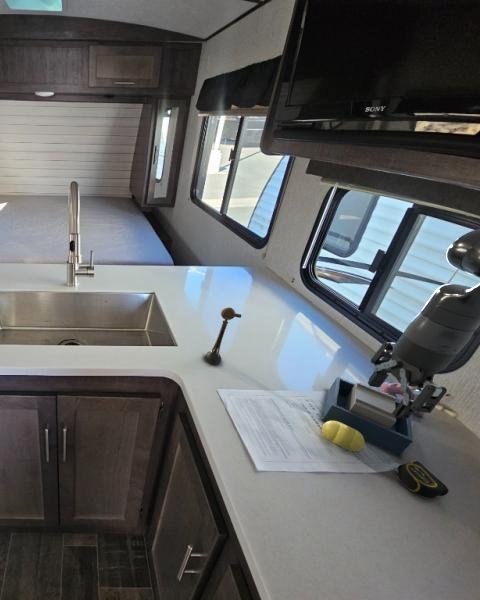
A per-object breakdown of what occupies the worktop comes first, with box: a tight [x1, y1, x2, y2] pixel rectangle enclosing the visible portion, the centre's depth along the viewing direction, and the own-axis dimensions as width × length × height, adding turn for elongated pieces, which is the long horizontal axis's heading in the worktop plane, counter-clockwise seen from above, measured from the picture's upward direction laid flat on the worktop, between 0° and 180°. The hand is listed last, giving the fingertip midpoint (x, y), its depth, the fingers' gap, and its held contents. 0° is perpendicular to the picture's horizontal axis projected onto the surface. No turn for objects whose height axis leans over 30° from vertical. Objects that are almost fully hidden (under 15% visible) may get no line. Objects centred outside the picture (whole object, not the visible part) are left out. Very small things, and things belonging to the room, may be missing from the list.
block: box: [344, 381, 398, 429], centre depth 83 cm, size 8×10×9 cm
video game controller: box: [378, 381, 426, 417], centre depth 89 cm, size 10×5×7 cm, turn 65°
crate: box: [322, 376, 414, 457], centre depth 83 cm, size 16×14×6 cm
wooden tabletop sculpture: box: [204, 306, 242, 366], centre depth 98 cm, size 6×5×20 cm
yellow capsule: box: [321, 421, 366, 452], centre depth 78 cm, size 8×5×5 cm, turn 51°
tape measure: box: [396, 460, 449, 499], centre depth 69 cm, size 7×7×4 cm
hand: (384, 400), depth 67 cm, fingers open, 8 cm apart
